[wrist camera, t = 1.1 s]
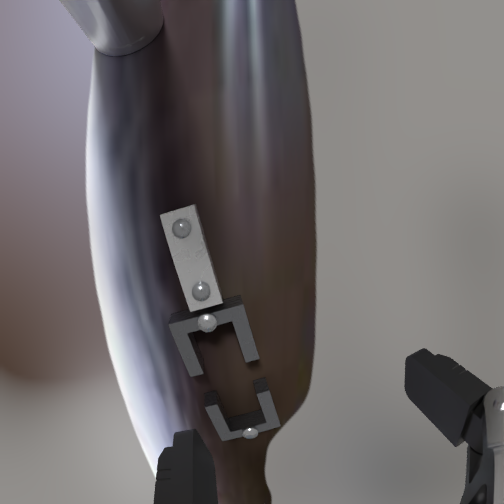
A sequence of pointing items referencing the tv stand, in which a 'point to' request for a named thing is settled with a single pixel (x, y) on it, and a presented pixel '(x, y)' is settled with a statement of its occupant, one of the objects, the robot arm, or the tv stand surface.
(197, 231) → the bolted link plate
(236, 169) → the tv stand surface
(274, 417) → the end link
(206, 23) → the tv stand surface
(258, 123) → the tv stand surface
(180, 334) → the end link
